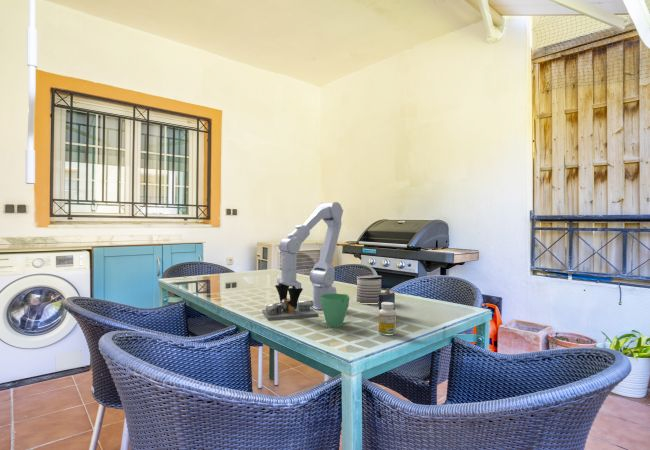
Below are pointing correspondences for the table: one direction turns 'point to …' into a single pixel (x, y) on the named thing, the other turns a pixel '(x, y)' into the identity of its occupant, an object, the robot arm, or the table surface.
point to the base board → (291, 314)
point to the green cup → (334, 308)
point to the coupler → (287, 305)
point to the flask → (387, 298)
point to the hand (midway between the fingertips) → (288, 304)
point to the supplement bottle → (387, 318)
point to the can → (368, 289)
